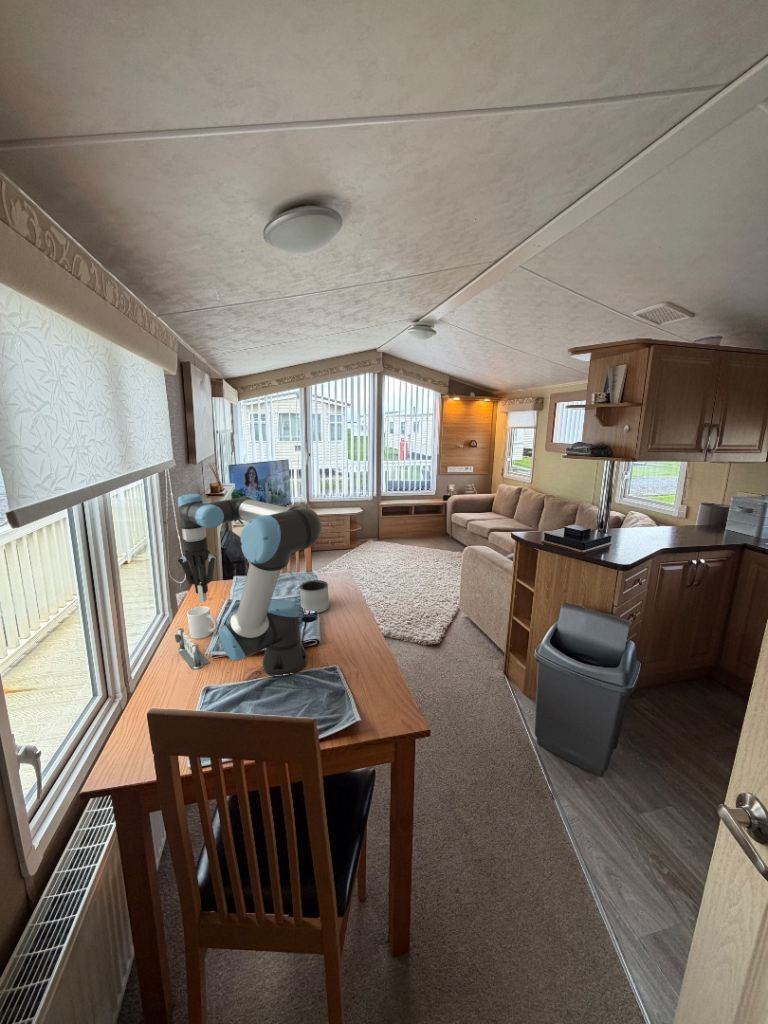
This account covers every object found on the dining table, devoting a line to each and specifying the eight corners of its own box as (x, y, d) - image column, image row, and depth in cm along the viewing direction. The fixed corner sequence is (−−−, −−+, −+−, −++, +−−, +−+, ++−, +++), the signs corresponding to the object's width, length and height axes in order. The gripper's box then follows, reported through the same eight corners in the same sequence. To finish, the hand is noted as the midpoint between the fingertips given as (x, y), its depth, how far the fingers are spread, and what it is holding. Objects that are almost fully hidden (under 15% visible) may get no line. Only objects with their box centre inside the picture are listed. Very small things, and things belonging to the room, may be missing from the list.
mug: (224, 631, 172) (221, 608, 169) (211, 641, 164) (208, 617, 162) (199, 628, 175) (196, 605, 172) (185, 638, 167) (182, 614, 165)
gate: (197, 661, 149) (195, 644, 148) (194, 662, 149) (192, 645, 147) (187, 647, 158) (185, 631, 157) (184, 648, 158) (182, 632, 156)
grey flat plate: (210, 662, 150) (210, 661, 150) (192, 669, 146) (192, 668, 146) (195, 646, 161) (195, 645, 161) (178, 652, 157) (178, 651, 157)
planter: (304, 616, 183) (302, 592, 180) (298, 605, 194) (297, 582, 192) (332, 611, 187) (331, 588, 185) (325, 600, 199) (324, 578, 196)
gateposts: (204, 666, 147) (201, 646, 146) (193, 671, 145) (190, 650, 143) (186, 645, 161) (183, 626, 160) (175, 649, 159) (172, 630, 157)
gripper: (217, 535, 151) (225, 596, 156) (181, 536, 150) (189, 597, 156) (209, 541, 143) (217, 605, 148) (171, 542, 143) (180, 606, 148)
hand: (203, 601), depth 152 cm, fingers closed
